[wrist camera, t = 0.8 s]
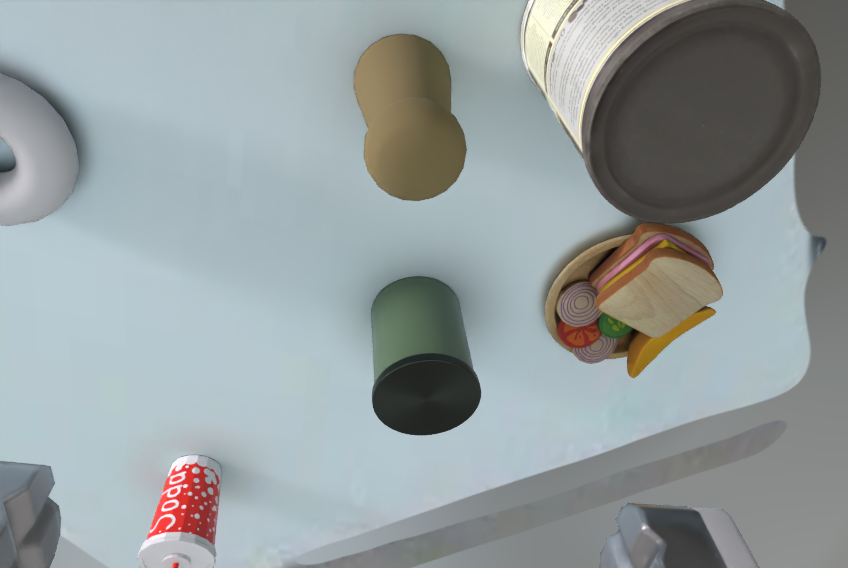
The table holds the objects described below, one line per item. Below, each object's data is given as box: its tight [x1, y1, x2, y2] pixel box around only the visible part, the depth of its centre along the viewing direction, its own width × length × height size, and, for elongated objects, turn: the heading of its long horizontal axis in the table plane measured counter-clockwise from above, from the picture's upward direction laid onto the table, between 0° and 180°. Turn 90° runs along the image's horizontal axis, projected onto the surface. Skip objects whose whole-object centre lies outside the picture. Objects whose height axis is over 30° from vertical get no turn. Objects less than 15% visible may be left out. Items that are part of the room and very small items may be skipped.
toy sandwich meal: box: [545, 223, 723, 378], centre depth 51 cm, size 12×14×5 cm
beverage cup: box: [137, 455, 222, 568], centre depth 56 cm, size 6×6×14 cm
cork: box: [354, 34, 467, 201], centre depth 36 cm, size 6×6×11 cm
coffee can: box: [521, 0, 821, 223], centre depth 34 cm, size 10×10×14 cm
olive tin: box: [371, 277, 481, 435], centre depth 48 cm, size 7×7×9 cm
